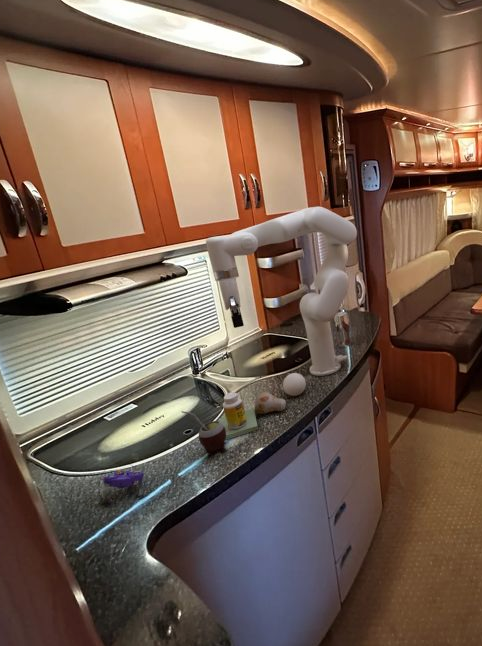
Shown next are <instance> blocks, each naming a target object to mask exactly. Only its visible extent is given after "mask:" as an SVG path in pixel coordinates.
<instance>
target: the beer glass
mask: <svg viewBox="0 0 482 646" xmlns="http://www.w3.org/2000/svg"><path fill="white" fill-rule="evenodd" d="M332 320H333V325H334V326H333V327H334V330H335V332H336V336H337V339H338V347H340V348H347V347H350V346H351V345H352V340H351V336H350V329H351V327H350V325H351V324H350V319H349V314H348V312H347V311H338V312H337V314H336V315H335V317H334V318H333V319H332Z"/></svg>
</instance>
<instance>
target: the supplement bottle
mask: <svg viewBox="0 0 482 646" xmlns="http://www.w3.org/2000/svg"><path fill="white" fill-rule="evenodd" d="M223 401H224V402H223V403H222V408H223V412H224V417H225V416H226V420H227V424H228V427H229V428H230V429H238V428H241V427H243V426H244V425H245V424H246V422H247V420H246V416H245V412H244V409H245V407H244V404H243V399H241V398H240V397H239V396H238V393H237V392H230V393H229V392H228V393H227V394H225V395H224V396H223Z"/></svg>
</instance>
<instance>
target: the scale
mask: <svg viewBox="0 0 482 646" xmlns="http://www.w3.org/2000/svg"><path fill="white" fill-rule="evenodd" d="M244 412H245V416H246V420H247V422H246V424H245V425H244V426H243V427H241V428H238V429H230V428H229V427H228V424H227V420H226V416H225V415H224V416H222V417H219V418H218V422H220V423H221V424H223V426H224V427H225V430H226V440H230V439H233V438H236V437H239V436H242V435H245V434H249V433H252V432H255V431H258V430H259V426H258V422H257V416H256V412H255V407H252V408H249V409H245V408H244ZM226 440H225V441H226Z"/></svg>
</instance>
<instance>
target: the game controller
mask: <svg viewBox="0 0 482 646" xmlns="http://www.w3.org/2000/svg"><path fill="white" fill-rule="evenodd" d="M116 464H118V462H116V463H113V464H111V465H109V466H107V467H106V468H104V470H103V472H102V473H101V475H100V478H99V482H98V485H101V478H102V476H103V474H104V472H105V471H106V470H107V469H108V468H109V467H111V466H113V465H116ZM126 465H130V466H132V467H133V468H134V469H129V470H126V473H125V470H122V469H120V470H116V471H114V472H112V473H108V474H106V475H104V477H103V484H104V487H106V488H110V487H111V488H117V489H125V491H126V492H127V493H129V494H130V495H132V496H133V497H134V496H135V497H137V498H141V495H139V494H137V493H134V492H133V491H131V490H129V489H127V488H128V487H130V486H133V485H134V486H137V485H139V484H140V483H141V482H142V481H143V478H144V477H145V473H144V472H142V471H138V469H137V468H136V467H135V466H134V465H133V464H131V463H128V462H126ZM98 496H99V499H100V502H101V503H102V504H104V505H108V504H112V503H113V502H114V498H111V499H110V500H109V501H108V503H105V502H104V501H103V500H102V498H101V494H100V491H98Z"/></svg>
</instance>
